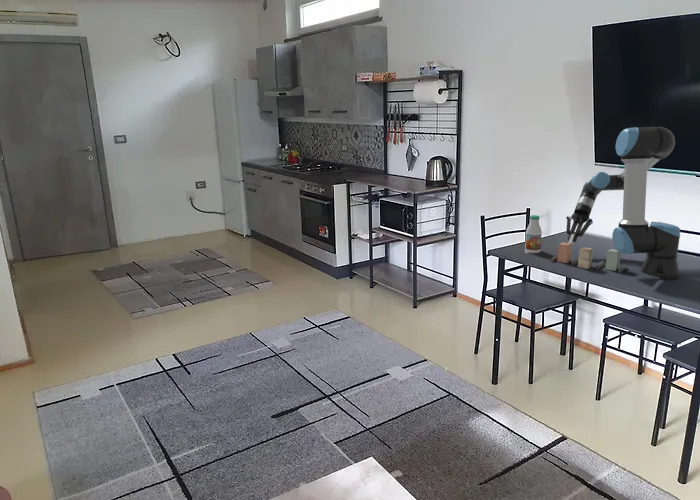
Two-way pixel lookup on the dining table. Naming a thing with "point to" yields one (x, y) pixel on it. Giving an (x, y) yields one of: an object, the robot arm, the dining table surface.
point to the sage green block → (613, 260)
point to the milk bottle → (533, 236)
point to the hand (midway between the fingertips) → (569, 246)
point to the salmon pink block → (564, 252)
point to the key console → (596, 265)
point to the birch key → (585, 258)
